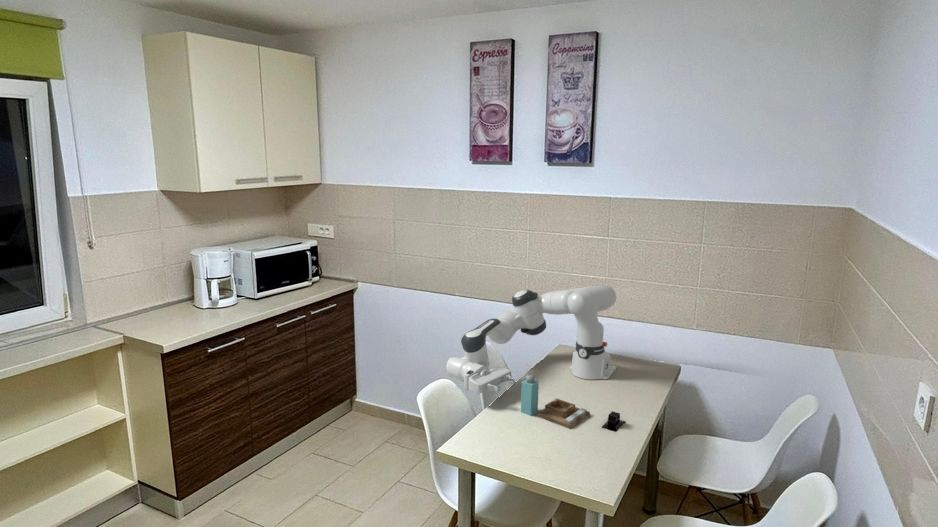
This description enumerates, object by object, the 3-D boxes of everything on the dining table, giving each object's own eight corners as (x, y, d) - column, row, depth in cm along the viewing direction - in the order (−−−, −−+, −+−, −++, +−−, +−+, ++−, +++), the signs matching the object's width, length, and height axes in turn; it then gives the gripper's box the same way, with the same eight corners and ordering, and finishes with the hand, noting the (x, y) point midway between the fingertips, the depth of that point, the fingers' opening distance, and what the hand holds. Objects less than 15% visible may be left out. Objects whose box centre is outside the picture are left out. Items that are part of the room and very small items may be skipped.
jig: (557, 403, 209) (557, 394, 208) (589, 415, 200) (590, 405, 199) (536, 416, 198) (537, 406, 198) (569, 428, 189) (570, 418, 188)
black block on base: (616, 436, 186) (617, 423, 185) (596, 429, 190) (597, 417, 189) (629, 422, 196) (630, 410, 195) (610, 416, 200) (610, 405, 199)
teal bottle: (527, 408, 205) (528, 373, 202) (537, 411, 202) (538, 376, 199) (520, 412, 201) (521, 376, 199) (530, 415, 198) (531, 380, 196)
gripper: (494, 375, 224) (522, 384, 215) (461, 390, 209) (489, 401, 200) (495, 361, 223) (522, 369, 214) (462, 375, 208) (490, 385, 199)
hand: (506, 385), depth 207 cm, fingers open, 8 cm apart
